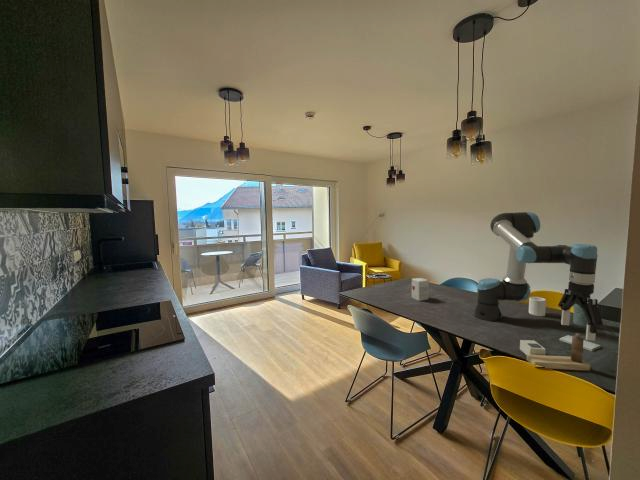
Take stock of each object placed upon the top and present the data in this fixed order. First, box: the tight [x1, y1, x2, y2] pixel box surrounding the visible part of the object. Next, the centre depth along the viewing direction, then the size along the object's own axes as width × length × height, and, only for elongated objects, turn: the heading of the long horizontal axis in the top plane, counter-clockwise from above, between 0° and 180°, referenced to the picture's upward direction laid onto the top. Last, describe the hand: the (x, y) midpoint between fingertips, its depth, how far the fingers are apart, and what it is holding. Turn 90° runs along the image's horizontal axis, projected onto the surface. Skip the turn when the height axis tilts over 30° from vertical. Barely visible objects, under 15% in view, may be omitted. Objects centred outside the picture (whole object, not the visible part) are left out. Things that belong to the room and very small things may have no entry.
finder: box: [519, 339, 546, 356], centre depth 123 cm, size 8×6×5 cm
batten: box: [526, 354, 591, 372], centre depth 115 cm, size 6×20×2 cm, turn 81°
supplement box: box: [411, 277, 430, 302], centre depth 206 cm, size 9×9×15 cm
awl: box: [570, 332, 585, 363], centre depth 113 cm, size 3×3×12 cm
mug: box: [528, 296, 547, 317], centre depth 170 cm, size 8×12×10 cm
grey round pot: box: [572, 304, 593, 328], centre depth 152 cm, size 10×10×12 cm
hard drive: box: [559, 334, 602, 352], centre depth 132 cm, size 2×8×12 cm
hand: (576, 332), depth 113 cm, fingers open, 13 cm apart
